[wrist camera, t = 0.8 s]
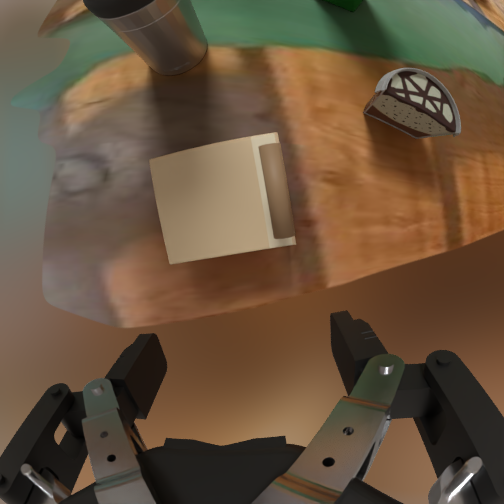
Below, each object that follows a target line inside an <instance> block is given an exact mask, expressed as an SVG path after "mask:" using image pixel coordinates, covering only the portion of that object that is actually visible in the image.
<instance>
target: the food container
mask: <svg viewBox="0 0 504 504" xmlns="http://www.w3.org/2000/svg"><path fill="white" fill-rule="evenodd" d="M375 93H376V94H375V95H374V96H373V97H372V99H371V100H370V101H369V102H368V103H367V105H366V107H365V109H364V112H363V113H364V114H366V115H369V116H371V117H373V118H375V119H378V120H380V121H382V122H384V123H386V124H388V125H390V126H392V127H394V128H396V129H398V130H400V131H402V132H404V133H406V134H408V135H410V136H412V137H414V138H416V139H420V138H427V137H434V136H442V135H451V134H453V137H455V136H457V135H459V133H461V122H460V116H459V112H458V109H457V106H456V104H455V102H454V100H453V98H452V96H451V94H450V93H449V92H448V90H447V89H446V88H445V86H444V85H443V84H442V83H441V82H440V81H439V80H438V79H436V78H435V77H434V76H432V75H431V74H429V73H427V72H425V71H422V70H420V69H415V68H401V69H397V70H394V71H391V72H389V73H387V74H386V75H384V76H383V77H382V78H381V80H380V81H379V83H378V84H377V86H376V89H375Z"/></svg>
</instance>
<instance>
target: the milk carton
mask: <svg viewBox="0 0 504 504" xmlns="http://www.w3.org/2000/svg"><path fill="white" fill-rule="evenodd" d="M324 1H326V2H329V3H332V4H334V5H337V6H339V7H342V8H344V9H347V10H349V11H351V12H354V11H355V10H356V8H357V7H358V6H359V5H360V3H361V2H362V1H363V0H324Z"/></svg>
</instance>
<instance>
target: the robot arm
mask: <svg viewBox="0 0 504 504" xmlns="http://www.w3.org/2000/svg"><path fill="white" fill-rule="evenodd" d="M83 2H84V4H85V6H86V7H87V8H88V9H89V10H90V11H91V12H92V13H93V14H94V15H95V16H97V17H98V18H99V19H100V20H101V21H103V22H104V23H105V24H106V25H107V26H108V27H109V28H110V29H112V30H113V31H114V32H115V33H116V34H117V35H118V36H119V37H120V38H121V39H122V40H123V41H124V42H125V43H126V44H127V45H128V46H130V47H131V48H132V49H133V50H134V51H135V52H136V53H137V54H138V55H139V56H140V57H141V58H142V59H143V60H144V61H145V62H146V63H147V64H148V65H149V66H150V67H151V68H152V69H153V70H154V71H156V72H157V73H159V74H163V75H176V74H181V73H183V72H186V71H188V70H190V69H191V68H193V67H194V66H195V65H197V64H198V63H199V62H200V61H201V60H202V58H203V56H204V55H205V52H206V50H207V40H206V37H205V35H204V32H203V30H202V27H201V25H200V22H199V20H198V18H197V15H196V13H195V10H194V8H193V6H192V3H191V1H190V0H83ZM330 325H331V347H332V353H333V357H334V359H335V362H336V364H337V367H338V370H339V372H340V375H341V378H342V381H343V383H344V386H345V389H346V391H347V394H348V397H346V396H343V397H342V398H341V399H340V401H339V402H338V403H337V405H336V406H335V408H334V409H333V411H332V412H331V414H330V415H329V417H328V418H327V420H326V421H325V423H324V424H323V426H322V427H321V429H320V430H319V431H318V433H317V434H316V435H315V437H314V438H313V439H312V441H311V442H310V444H309V445H308V446H307V447H303V446H299V445H294V444H286V438H285V436H279V437H269V438H256V439H251V440H247V441H243V442H239V443H234V444H230V445H225V446H219V445H214V444H209V443H205V442H201V441H197V440H190V439H189V440H188V439H172V438H166V440H165V443H164V446H161V447H155V448H152V449H149V450H148V449H147V448H146V445H145V443H144V441H143V439H142V437H141V435H140V433H139V431H138V428H137V426H136V425H135V423H134V421H135V418H137V419H146V418H147V415H148V413H149V411H150V409H151V406H152V404H153V402H154V399H155V397H156V395H157V392H158V390H159V388H160V385H161V383H162V381H163V379H164V376H165V374H166V372H167V361H166V358H165V355H164V353H163V350H162V347H161V345H160V342H159V339H158V337H157V335H156V334H154V333H152V334H140V335H139V336H138V337H137V339H136V340H135V342H134V343H133V344H131V345H130V346H129V347H127V348H126V349H125V350H124V351H123V352H122V354H121V355H120V358H118V359H117V361H116V363H115V364H114V365H113V366H112V368H111V369H110V371H109V372H108V374H107V375H106V376H105V378H99V379H95V380H93V381H91V382H89V383H88V384H87V385H86V386H85V387H84V389H83V391H81V392H71V391H70V389H69V387H68V386H67V385H66V384H63V383H59V384H55V385H53V386H51V387H50V388H49V389H48V390H47V391H46V392H45V393H44V395H43V396H42V397H41V399H40V400H39V401H38V403H37V404H36V405H35V407H34V408H33V409H32V411H31V412H30V414H29V415H28V416H27V418H26V419H25V421H24V422H23V423H22V425H21V426H20V428H19V429H18V431H17V432H16V434H15V435H14V437H13V438H12V440H11V441H10V443H9V444H8V446H7V447H6V449H5V450H4V452H3V454H2V455H1V457H0V498H1V499H2V500H3V501H4V502H6V503H7V504H403V503H401V502H399V501H397V500H395V499H393V498H392V497H390V496H388V495H386V494H384V493H382V492H380V491H379V490H377V489H375V488H373V487H372V486H370V485H368V484H367V483H365V482H363V480H364V478H365V476H366V475H367V473H368V471H369V469H370V467H371V465H372V462H373V460H374V457H375V456H376V453H377V451H378V449H379V447H380V445H381V443H382V441H383V438H384V436H385V434H386V432H387V430H388V427H389V425H390V422H391V420H392V419H396V418H397V419H398V418H412V417H413V419H414V421H415V424H416V426H417V428H418V430H419V433H420V435H421V437H422V440H423V442H424V445H425V447H426V450H427V452H428V455H429V457H430V459H431V462H432V464H433V467H434V470H435V473H436V475H437V478H438V480H437V481H436V482H435V483H434V484H433V486H432V487H431V489H430V491H429V495H428V500H429V504H504V417H503V416H502V414H501V413H500V411H499V410H498V408H497V407H496V406H495V404H494V403H493V401H492V400H491V399H490V397H489V396H488V394H487V393H486V392H485V390H484V389H483V388H482V386H481V385H480V384H479V382H478V381H477V380H476V379H475V377H474V376H473V375H472V373H471V372H470V371H469V369H468V368H467V367H466V366H465V364H464V363H463V362H462V361H461V359H460V358H459V357H458V356H457V355H456V354H455V353H453V352H450V351H447V350H438V351H434V352H432V353H431V354H429V356H427V358H426V363H422V364H404V361H403V360H402V359H401V358H399V357H398V356H396V355H393V354H388V352H387V351H386V349H385V348H384V346H383V345H382V343H381V342H380V340H379V339H378V337H376V334H375V333H374V332H373V330H372V328H371V327H370V325H369V324H368V323H366V322H365V321H363V320H361V319H357V320H353V319H352V317H351V315H350V314H349V312H348V311H347V310H346V311H341V312H335V313H331V315H330ZM60 422H62V423H63V425H64V426H65V428H66V429H67V432H66V433H65V435H64V437H63V439H62V441H61V442H60V444H59V445H58V444H57V443H56V441H55V439H54V433H55V431H56V429H57V427H58V426H59V424H60ZM88 454H89V458H90V462H91V466H92V470H93V473H94V477H95V480H96V482H94V483H93V484H91V485H89V486H87V487H86V488H84V489H82V490H80V491H78V492H76V493H75V494H73V495H71V493H72V490H73V488H74V485H75V483H76V481H77V478H78V476H79V474H80V471H81V469H82V466H83V464H84V462H85V460H86V458H87V455H88Z"/></svg>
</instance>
